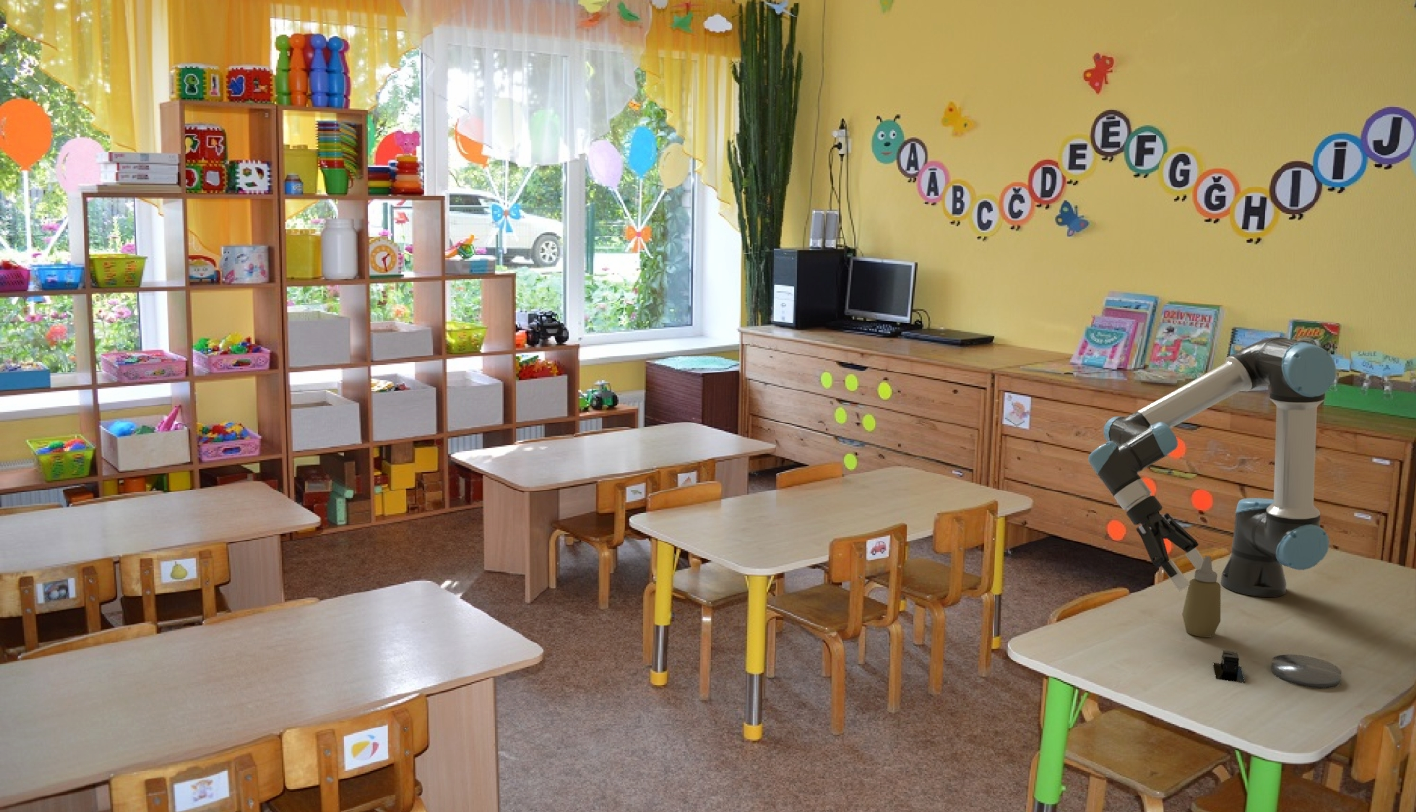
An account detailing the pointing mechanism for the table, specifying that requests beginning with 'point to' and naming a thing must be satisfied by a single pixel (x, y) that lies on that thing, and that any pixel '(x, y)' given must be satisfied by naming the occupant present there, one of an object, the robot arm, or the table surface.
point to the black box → (1229, 668)
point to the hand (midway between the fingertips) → (1196, 581)
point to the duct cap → (1306, 671)
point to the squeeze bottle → (1203, 602)
